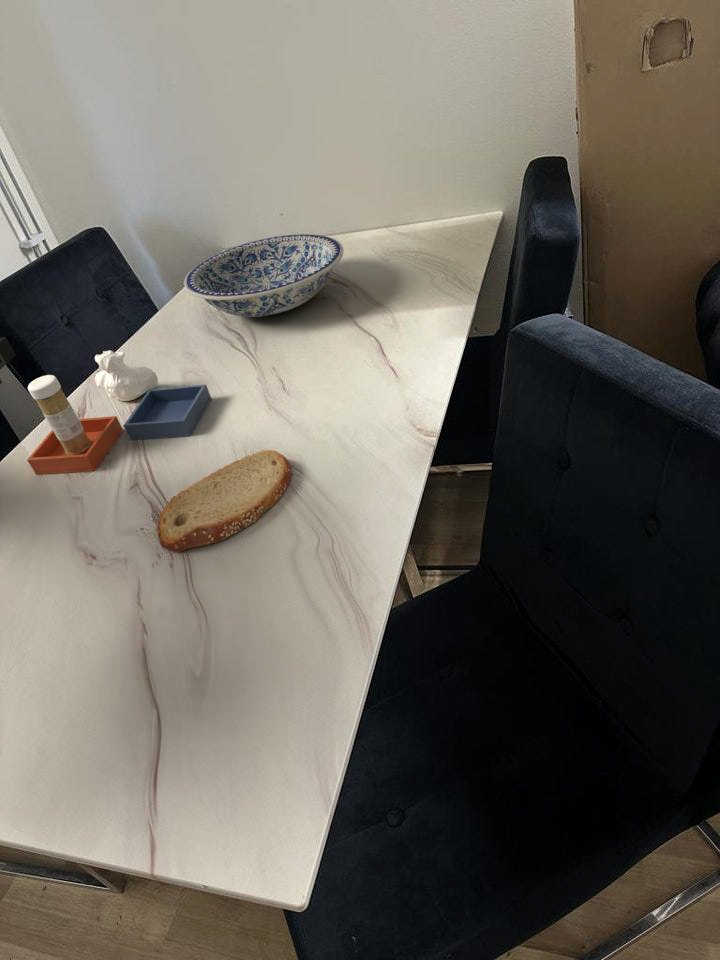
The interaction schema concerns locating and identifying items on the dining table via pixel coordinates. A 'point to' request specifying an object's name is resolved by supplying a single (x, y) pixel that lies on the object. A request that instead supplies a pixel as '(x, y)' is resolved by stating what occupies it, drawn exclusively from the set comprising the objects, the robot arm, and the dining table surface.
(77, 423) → the sprinkles bottle
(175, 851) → the dining table surface
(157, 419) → the slate tray
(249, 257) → the ceramic bowl
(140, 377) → the white animal figurine
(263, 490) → the slice of bread
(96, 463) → the terracotta tray
